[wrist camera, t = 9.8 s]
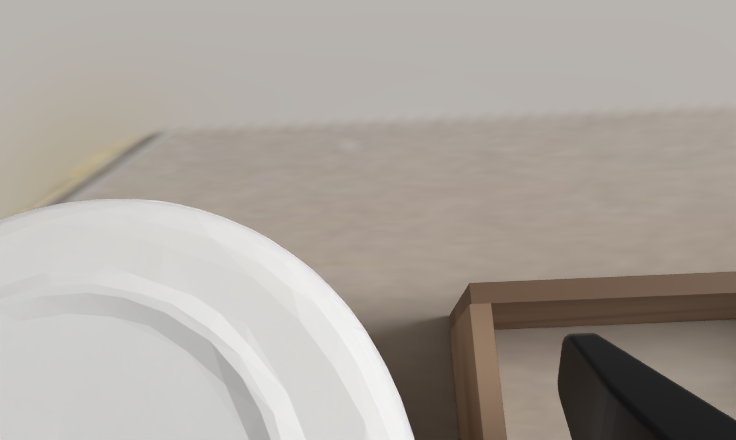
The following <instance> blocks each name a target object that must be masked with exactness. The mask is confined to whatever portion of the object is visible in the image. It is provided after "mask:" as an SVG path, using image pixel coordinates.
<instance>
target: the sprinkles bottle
mask: <svg viewBox="0 0 736 440" xmlns="http://www.w3.org/2000/svg"><path fill="white" fill-rule="evenodd" d="M0 440H414V436H413V433H412V430H411V427H410V424H409V421H408V418H407V415H406V412H405V409H404V406H403V403H402V400H401V397H400V395H399V393H398V390H397V388H396V386H395V384H394V382H393V379H392V377H391V375H390V373H389V370H388V368H387V367H386V365H385V363H384V361H383V359H382V357H381V356H380V354H379V352H378V350H377V349H376V347H375V345H374V344H373V342H372V340H371V338H370V337H369V335H368V333H367V332H366V330H365V329H364V327H363V326H362V324H361V323H360V322H359V320H358V319H357V318H356V316H355V315H354V313H353V312H352V311H351V309H350V308H349V307H348V306H347V304H346V303H345V302H344V301H343V300H342V299H341V298H340V297H339V296H338V294H337V293H336V292H335V291H334V290H333V289H332V288H331V287H330V286H329V285H328V284H327V283H326V282H325V281H324V280H323V279H322V278H321V277H320V276H319V275H318V274H317V273H316V272H315V271H314V270H312V269H311V268H310V267H309V266H307V265H306V264H305V263H303V262H302V261H301V260H299V259H298V258H297V257H295V256H294V255H293V254H291V253H290V252H288V251H287V250H285V249H284V248H282V247H281V246H279V245H278V244H276V243H275V242H273V241H272V240H270V239H269V238H267V237H265V236H263V235H261V234H259V233H258V232H256V231H254V230H252V229H250V228H248V227H245V226H243V225H241V224H238V223H236V222H234V221H231V220H229V219H227V218H224V217H222V216H219V215H216V214H213V213H210V212H207V211H204V210H201V209H197V208H192V207H188V206H184V205H180V204H176V203H168V202H163V201H154V200H141V199H97V200H88V201H78V202H69V203H62V204H56V205H51V206H46V207H41V208H37V209H33V210H30V211H26V212H23V213H19V214H16V215H12V216H9V217H6V218H3V219H0Z"/></svg>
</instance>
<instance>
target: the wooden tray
mask: <svg viewBox="0 0 736 440" xmlns="http://www.w3.org/2000/svg"><path fill="white" fill-rule="evenodd" d="M730 319H736V272H717V273H694V274H671V275H648V276H625V277H602V278H579V279H556V280H533V281H509V282H486V283H469V285H468V286H467V288H466V290H465V291H464V293H463V295H462V296H461V298H460V299H459V301H458V303H457V304H456V306H455V307H454V309H453V311H452V312H451V314H450V321H451V330H450V339H451V351H452V362H453V373H454V384H455V395H456V406H457V418H458V429H459V440H507V436H506V428H505V419H504V411H503V402H502V394H501V385H500V377H499V368H498V360H497V351H496V343H495V334H494V330H495V329H519V328H542V327H566V326H589V325H613V324H636V323H660V322H683V321H706V320H730Z"/></svg>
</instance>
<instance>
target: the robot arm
mask: <svg viewBox="0 0 736 440" xmlns="http://www.w3.org/2000/svg"><path fill="white" fill-rule="evenodd" d="M558 392H559V397H560V400H561V404H562V407H563V411H564V414H565V417H566V421H567V424H568V428H569V431H570V434H571V438H572V440H736V420H734V419H733V418H731V417H730V416H728V415H726V414H725V413H723V412H721V411H720V410H718V409H717V408H715V407H713V406H712V405H710V404H709V403H707V402H705V401H704V400H702V399H700V398H699V397H697V396H696V395H694V394H692V393H691V392H689V391H688V390H686V389H684V388H683V387H681V386H679V385H678V384H676V383H675V382H673V381H671V380H670V379H668V378H667V377H665V376H663V375H662V374H660V373H658V372H657V371H655V370H654V369H652V368H650V367H649V366H647V365H646V364H644V363H642V362H641V361H639V360H637V359H636V358H634V357H633V356H631V355H629V354H628V353H626V352H625V351H623V350H621V349H620V348H618V347H616V346H615V345H613V344H612V343H610V342H608V341H607V340H605V339H604V338H602V337H600V336H599V335H597V334H594V333H581V334H568V335H567V336H566V337H565V338H564V340H563V343H562V350H561V358H560V366H559V374H558Z"/></svg>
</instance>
